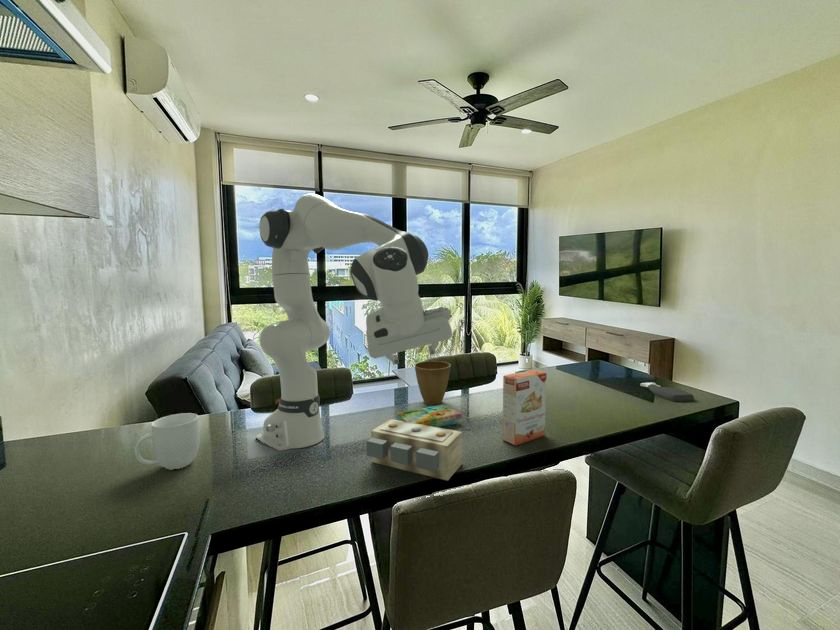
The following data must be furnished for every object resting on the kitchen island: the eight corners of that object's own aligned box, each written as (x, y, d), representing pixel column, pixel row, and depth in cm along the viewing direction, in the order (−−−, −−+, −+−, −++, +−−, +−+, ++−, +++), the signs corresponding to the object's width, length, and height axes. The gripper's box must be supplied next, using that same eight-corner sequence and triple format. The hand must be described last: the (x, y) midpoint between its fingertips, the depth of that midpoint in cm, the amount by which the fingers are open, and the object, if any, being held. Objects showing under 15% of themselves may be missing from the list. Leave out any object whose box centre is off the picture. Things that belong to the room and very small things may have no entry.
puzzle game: (461, 411, 133) (409, 421, 124) (461, 424, 133) (410, 435, 124) (445, 402, 143) (396, 411, 134) (445, 414, 144) (396, 423, 135)
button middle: (390, 461, 97) (390, 446, 97) (395, 457, 99) (395, 442, 99) (407, 465, 95) (407, 449, 95) (412, 461, 97) (412, 446, 97)
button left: (366, 455, 101) (366, 441, 100) (372, 451, 103) (371, 437, 103) (382, 459, 98) (382, 444, 98) (387, 455, 101) (387, 440, 100)
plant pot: (407, 402, 158) (407, 364, 157) (433, 394, 168) (432, 359, 167) (432, 410, 147) (432, 370, 146) (458, 402, 157) (458, 364, 156)
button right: (416, 467, 94) (416, 451, 93) (421, 463, 96) (420, 447, 96) (434, 471, 91) (434, 455, 91) (439, 467, 94) (438, 451, 93)
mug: (137, 484, 96) (132, 434, 95) (136, 467, 104) (133, 421, 103) (204, 466, 105) (201, 420, 104) (198, 452, 113) (195, 410, 112)
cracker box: (516, 447, 113) (516, 378, 112) (501, 440, 118) (501, 374, 117) (546, 436, 121) (547, 372, 119) (531, 430, 126) (532, 368, 124)
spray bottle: (671, 402, 153) (634, 387, 178) (697, 401, 154) (657, 386, 178) (671, 395, 153) (634, 380, 177) (697, 394, 153) (657, 380, 178)
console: (372, 462, 105) (371, 429, 105) (391, 447, 114) (390, 417, 114) (447, 480, 95) (447, 444, 94) (462, 463, 104) (461, 430, 103)
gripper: (445, 296, 88) (451, 338, 97) (359, 318, 87) (373, 358, 96) (452, 313, 83) (458, 355, 92) (361, 336, 82) (376, 377, 91)
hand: (414, 357), depth 94 cm, fingers open, 8 cm apart
